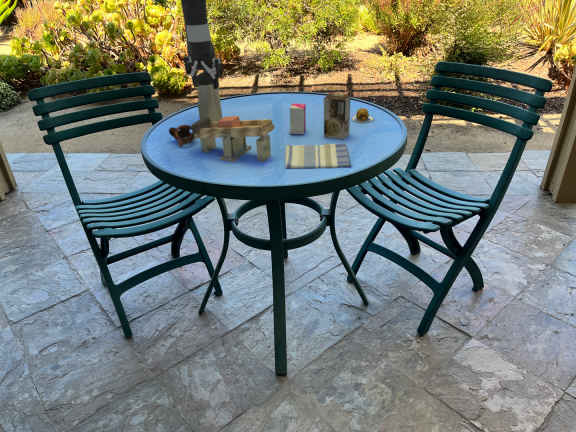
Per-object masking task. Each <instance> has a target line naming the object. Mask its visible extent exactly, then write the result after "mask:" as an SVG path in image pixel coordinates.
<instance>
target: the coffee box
mask: <svg viewBox="0 0 576 432" xmlns="http://www.w3.org/2000/svg"><path fill="white" fill-rule="evenodd" d="M350 117H351V94H344V93H343V94H341V93H330V92H329V93H327V94H326V96H324V98H323V137H324V138H328V139H329V138H330V139H335V140H346V139H347V138H348V137H349V136H350V125H351V124H350V123H351V120H350V119H351V118H350Z"/></svg>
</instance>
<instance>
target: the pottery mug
mask: <svg viewBox="0 0 576 432" xmlns="http://www.w3.org/2000/svg"><path fill="white" fill-rule="evenodd" d="M190 130H191V131H192V132H190ZM168 133H169V135H170V136H171V137H173V138H174V140H175V141H178V143H177V145H178V146H179V147H181V148H182V147H183V146H186V145H188V144H190V143H192V142H193V141H195V139H196V138H195V136H194V132H193V129H192V126H191V125H189V124H181V125H179V126H177V127H172V126H171V127H170V128H169V129H168Z"/></svg>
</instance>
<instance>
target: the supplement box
mask: <svg viewBox="0 0 576 432" xmlns="http://www.w3.org/2000/svg"><path fill="white" fill-rule="evenodd" d="M291 103H292V102H291ZM306 107H307V105H306V104H305V103H292V104H291V105H290V106H289V135H290V136H304V135H305V132H306V128H307V127H306V126H307V125H306V119H307V118H306V115H307V114H306V113H307V111H306V110H307V108H306Z"/></svg>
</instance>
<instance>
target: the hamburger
mask: <svg viewBox="0 0 576 432" xmlns="http://www.w3.org/2000/svg"><path fill="white" fill-rule="evenodd" d="M355 119H356V120H357V121H356V120H355ZM368 119H370V120H369V121H368ZM373 119H374V118H373V117H372V116H370V114H369V110H368V109H367V108H363V107H362V108H358V109H357V111H356V115H354V116H353V117H352V121H354V122H357V123H367V121H368V123H369V122H372V121H373Z"/></svg>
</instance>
